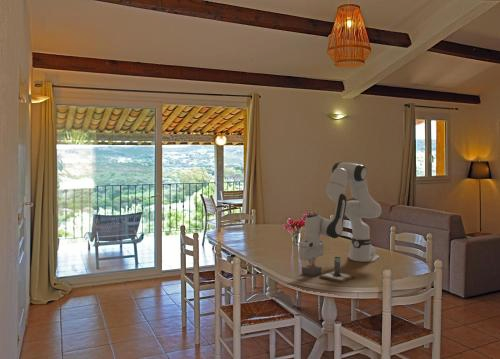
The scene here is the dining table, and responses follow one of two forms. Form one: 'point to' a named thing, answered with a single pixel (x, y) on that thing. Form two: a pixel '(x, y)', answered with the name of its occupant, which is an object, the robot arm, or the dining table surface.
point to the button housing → (311, 270)
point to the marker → (337, 266)
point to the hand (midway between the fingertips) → (311, 265)
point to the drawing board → (336, 277)
